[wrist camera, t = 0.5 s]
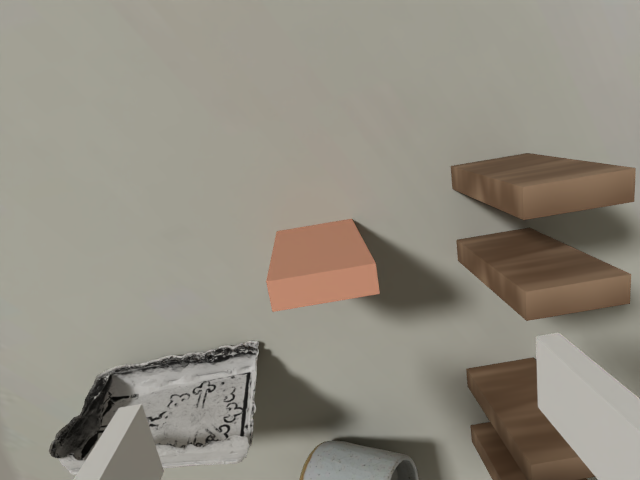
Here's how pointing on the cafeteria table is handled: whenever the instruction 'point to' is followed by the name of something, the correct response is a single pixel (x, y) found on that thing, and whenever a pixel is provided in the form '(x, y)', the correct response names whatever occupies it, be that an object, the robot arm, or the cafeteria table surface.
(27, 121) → the cafeteria table surface
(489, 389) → the domino
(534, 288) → the domino
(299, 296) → the domino
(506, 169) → the domino
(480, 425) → the domino
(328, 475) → the ceramic mug
